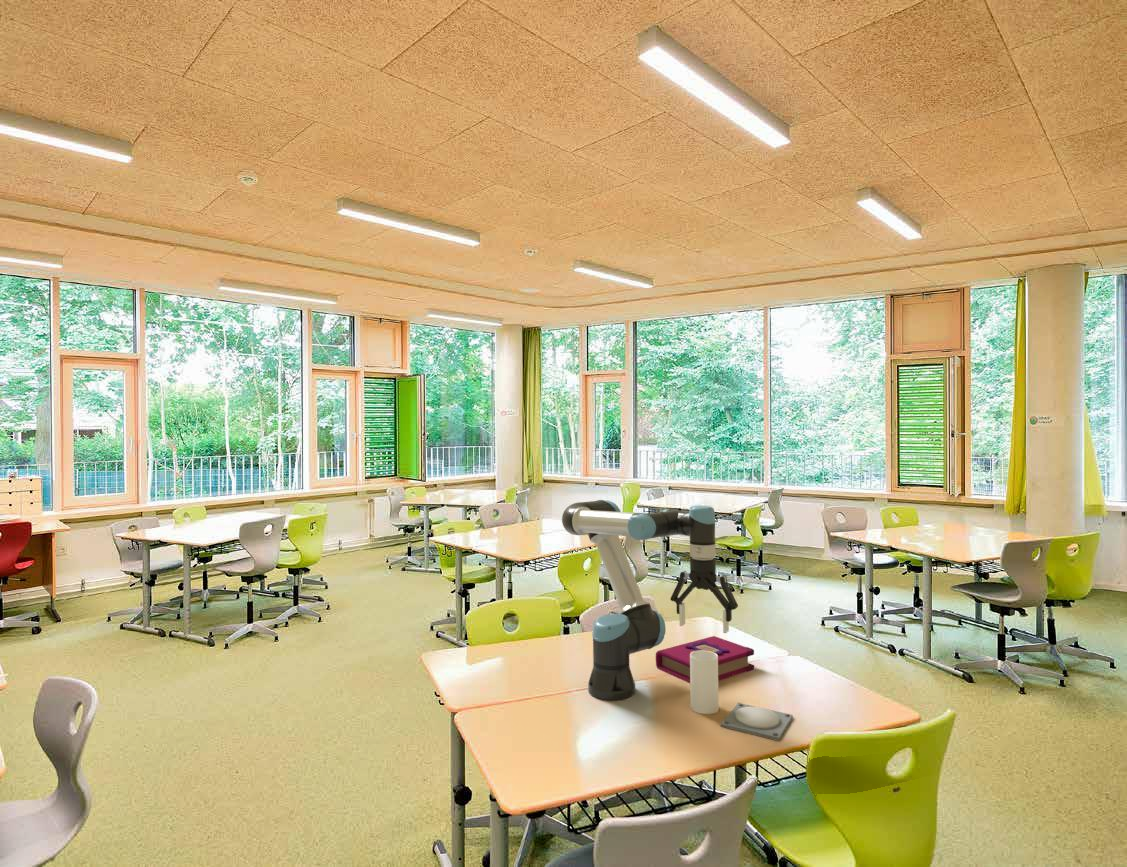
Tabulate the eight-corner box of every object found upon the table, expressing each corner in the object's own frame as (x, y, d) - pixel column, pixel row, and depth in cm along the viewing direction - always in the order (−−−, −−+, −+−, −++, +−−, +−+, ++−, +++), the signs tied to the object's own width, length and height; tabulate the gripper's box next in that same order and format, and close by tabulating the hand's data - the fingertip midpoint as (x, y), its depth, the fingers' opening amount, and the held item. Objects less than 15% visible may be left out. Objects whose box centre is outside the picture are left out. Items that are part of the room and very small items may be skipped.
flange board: (720, 726, 176) (720, 720, 176) (738, 705, 190) (738, 699, 190) (779, 740, 168) (778, 734, 168) (792, 717, 181) (792, 711, 181)
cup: (719, 715, 183) (718, 660, 183) (690, 713, 185) (689, 658, 185) (718, 703, 191) (717, 651, 192) (690, 701, 193) (689, 649, 193)
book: (655, 669, 221) (655, 647, 221) (711, 653, 237) (711, 633, 237) (698, 688, 204) (698, 665, 204) (756, 670, 219) (755, 648, 219)
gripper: (659, 556, 192) (660, 625, 192) (740, 564, 178) (741, 638, 178) (669, 552, 198) (670, 619, 198) (747, 559, 185) (748, 631, 185)
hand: (703, 628), depth 188 cm, fingers open, 13 cm apart
